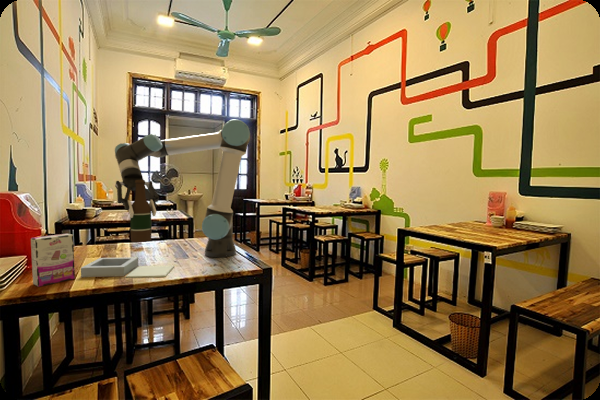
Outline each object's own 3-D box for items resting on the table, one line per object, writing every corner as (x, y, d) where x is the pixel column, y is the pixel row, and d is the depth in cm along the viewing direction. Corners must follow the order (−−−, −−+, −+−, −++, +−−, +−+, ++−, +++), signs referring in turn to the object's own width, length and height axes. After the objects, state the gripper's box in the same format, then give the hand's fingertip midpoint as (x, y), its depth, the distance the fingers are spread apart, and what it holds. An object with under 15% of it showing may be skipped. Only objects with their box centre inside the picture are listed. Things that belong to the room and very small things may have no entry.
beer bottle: (134, 243, 118) (133, 179, 117) (127, 240, 124) (126, 179, 122) (155, 240, 124) (154, 180, 122) (147, 237, 129) (146, 179, 128)
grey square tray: (138, 265, 133) (138, 257, 133) (124, 275, 119) (124, 266, 118) (100, 266, 131) (100, 257, 131) (81, 277, 116) (80, 267, 116)
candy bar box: (69, 276, 117) (68, 233, 116) (75, 278, 114) (74, 234, 113) (31, 284, 107) (30, 237, 106) (37, 287, 105) (35, 239, 104)
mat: (174, 266, 132) (174, 265, 132) (165, 276, 119) (165, 275, 118) (139, 267, 130) (139, 266, 130) (125, 277, 116) (125, 276, 116)
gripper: (154, 179, 140) (168, 218, 129) (101, 178, 126) (112, 223, 116) (158, 167, 136) (172, 207, 125) (104, 165, 122) (115, 210, 111)
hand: (143, 214), depth 120 cm, fingers closed on beer bottle, 7 cm apart
